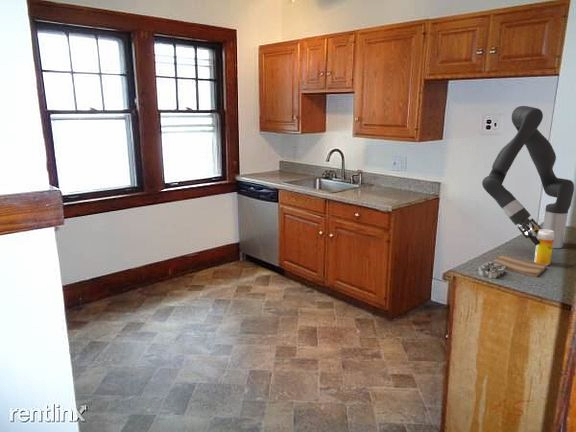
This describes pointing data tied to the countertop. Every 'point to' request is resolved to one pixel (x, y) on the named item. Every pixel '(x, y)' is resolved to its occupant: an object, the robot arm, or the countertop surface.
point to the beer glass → (544, 246)
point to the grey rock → (494, 269)
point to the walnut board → (520, 266)
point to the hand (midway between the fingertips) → (541, 242)
